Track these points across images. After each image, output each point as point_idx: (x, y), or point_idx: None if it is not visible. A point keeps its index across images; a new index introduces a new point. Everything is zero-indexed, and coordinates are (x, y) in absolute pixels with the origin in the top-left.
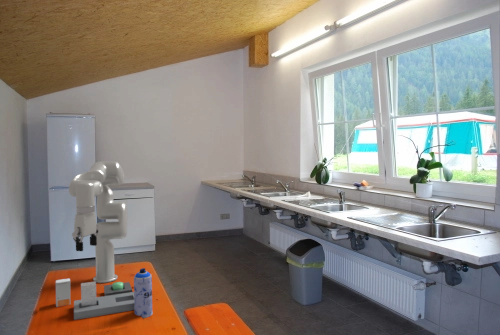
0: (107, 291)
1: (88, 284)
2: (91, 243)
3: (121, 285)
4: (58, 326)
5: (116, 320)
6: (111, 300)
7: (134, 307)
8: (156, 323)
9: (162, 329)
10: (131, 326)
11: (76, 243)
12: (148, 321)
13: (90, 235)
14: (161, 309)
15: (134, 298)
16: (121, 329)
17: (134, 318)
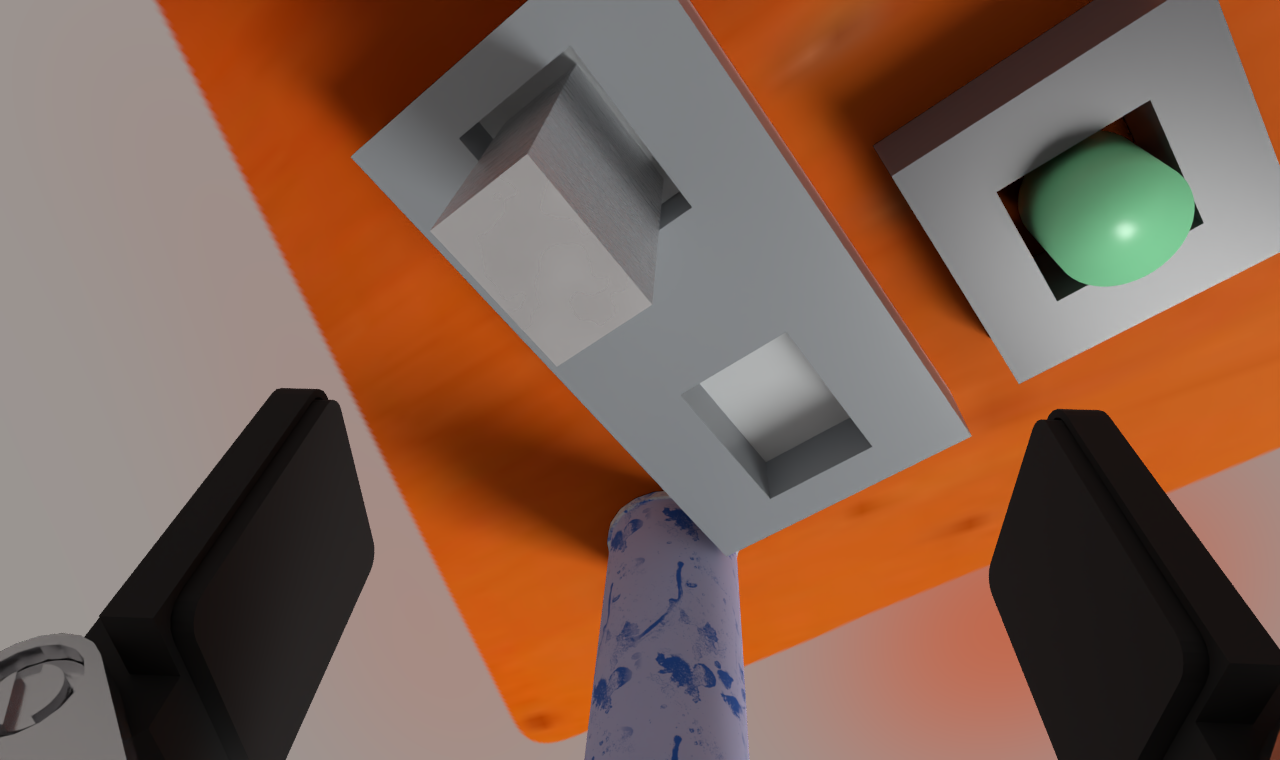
0: (966, 155)
1: (522, 283)
2: (1045, 504)
3: (1079, 278)
4: (256, 41)
5: (529, 427)
6: (714, 333)
7: (631, 546)
8: (566, 642)
9: (508, 686)
10: (482, 545)
11: (97, 632)
12: (578, 600)
13: (1274, 744)
14: (773, 606)
15: (621, 606)
16: (423, 512)
17: (595, 516)
